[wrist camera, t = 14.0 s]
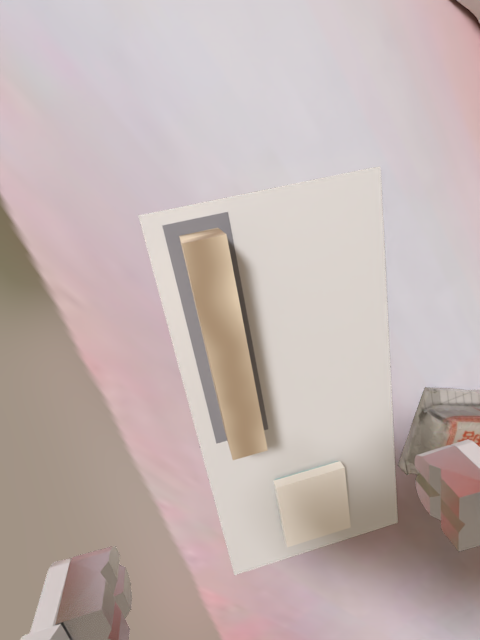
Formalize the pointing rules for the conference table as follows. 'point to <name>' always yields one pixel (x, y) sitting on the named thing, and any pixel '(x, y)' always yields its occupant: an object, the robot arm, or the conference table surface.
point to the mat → (292, 350)
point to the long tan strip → (224, 339)
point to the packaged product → (441, 423)
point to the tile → (313, 503)
